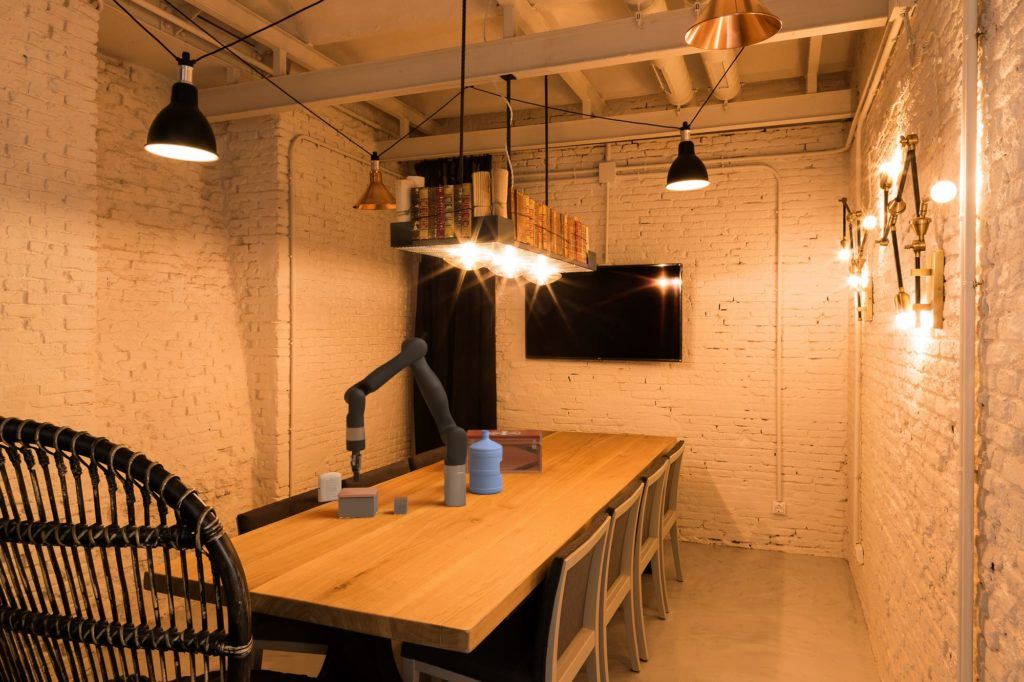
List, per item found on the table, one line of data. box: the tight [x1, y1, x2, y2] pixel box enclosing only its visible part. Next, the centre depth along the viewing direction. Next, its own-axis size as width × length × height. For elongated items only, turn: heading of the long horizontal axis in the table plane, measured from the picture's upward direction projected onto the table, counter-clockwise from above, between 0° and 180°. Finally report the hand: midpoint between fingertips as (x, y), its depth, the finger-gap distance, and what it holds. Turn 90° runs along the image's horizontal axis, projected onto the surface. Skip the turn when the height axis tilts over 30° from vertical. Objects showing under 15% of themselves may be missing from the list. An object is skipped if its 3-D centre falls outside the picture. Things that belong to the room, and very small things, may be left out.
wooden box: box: [466, 429, 543, 475], centre depth 364 cm, size 20×41×20 cm, turn 89°
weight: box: [393, 496, 408, 515], centre depth 278 cm, size 5×5×6 cm
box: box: [337, 490, 379, 519], centre depth 277 cm, size 14×12×8 cm
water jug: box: [468, 429, 504, 495], centre depth 316 cm, size 16×16×28 cm
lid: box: [337, 486, 379, 498], centre depth 277 cm, size 15×12×1 cm
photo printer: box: [317, 471, 342, 503], centre depth 300 cm, size 10×4×12 cm, turn 123°
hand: (356, 481), depth 272 cm, fingers closed
